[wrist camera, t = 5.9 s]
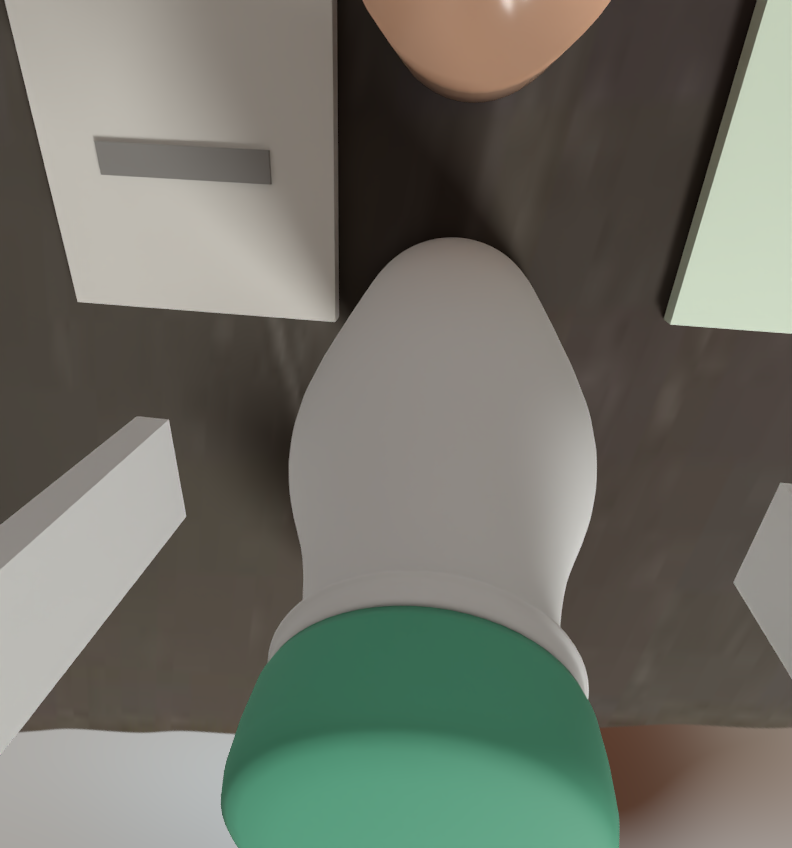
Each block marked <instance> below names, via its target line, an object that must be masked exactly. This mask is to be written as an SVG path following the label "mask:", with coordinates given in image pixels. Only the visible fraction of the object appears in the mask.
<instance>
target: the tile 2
mask: <svg viewBox="0 0 792 848" xmlns="http://www.w3.org/2000/svg"><path fill="white" fill-rule="evenodd" d="M664 320H665V321H667V322H668V323H669V324H670V325H684V326H697V327H711V328H724V329H737V330H751V331H764V332H777V333H791V334H792V0H757V2H756V5H755V8H754V12H753V15H752V19H751V22H750V26H749V29H748V32H747V36H746V39H745V43H744V46H743V49H742V53H741V56H740V60H739V63H738V67H737V70H736V73H735V77H734V80H733V84H732V87H731V90H730V94H729V97H728V101H727V104H726V108H725V111H724V114H723V118H722V121H721V125H720V128H719V131H718V135H717V138H716V142H715V145H714V148H713V152H712V155H711V159H710V162H709V166H708V169H707V172H706V176H705V179H704V183H703V186H702V189H701V193H700V196H699V200H698V203H697V207H696V210H695V213H694V217H693V220H692V224H691V227H690V230H689V234H688V237H687V241H686V244H685V248H684V251H683V254H682V258H681V261H680V265H679V268H678V271H677V275H676V278H675V282H674V285H673V289H672V292H671V295H670V299H669V302H668V306H667V309H666V312H665V316H664Z"/></svg>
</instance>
